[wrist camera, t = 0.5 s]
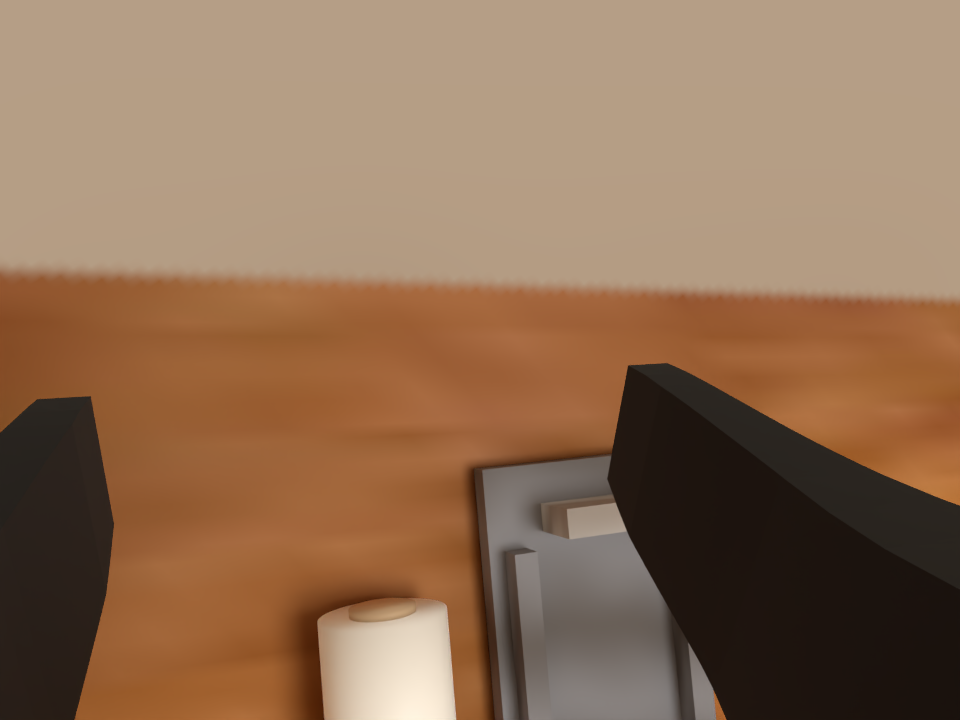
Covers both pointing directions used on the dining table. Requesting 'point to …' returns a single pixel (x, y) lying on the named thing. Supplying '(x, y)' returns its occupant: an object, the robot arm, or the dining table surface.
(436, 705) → the paper roll
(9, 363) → the dining table surface
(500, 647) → the roll cradle
